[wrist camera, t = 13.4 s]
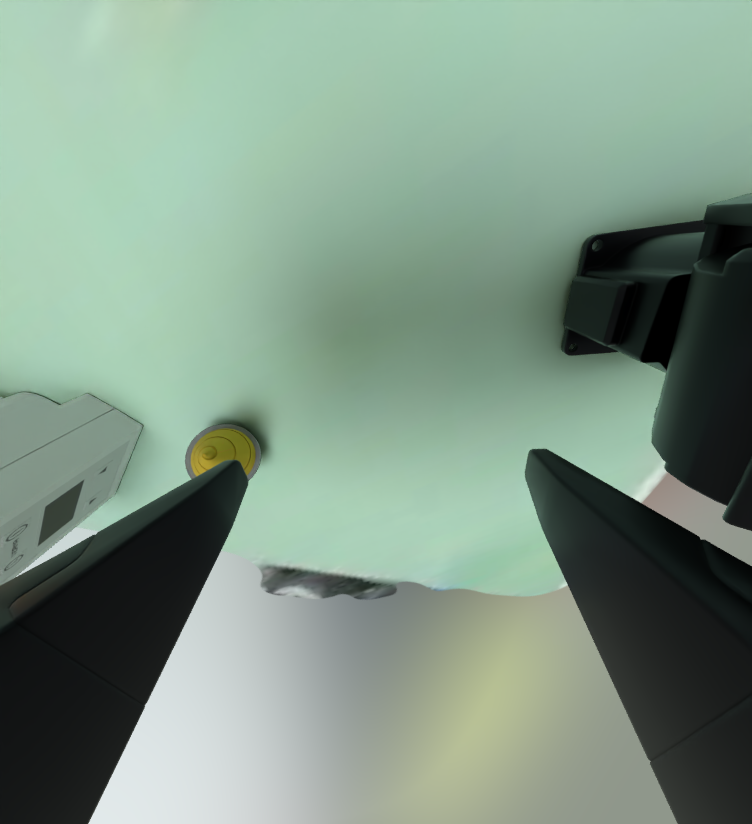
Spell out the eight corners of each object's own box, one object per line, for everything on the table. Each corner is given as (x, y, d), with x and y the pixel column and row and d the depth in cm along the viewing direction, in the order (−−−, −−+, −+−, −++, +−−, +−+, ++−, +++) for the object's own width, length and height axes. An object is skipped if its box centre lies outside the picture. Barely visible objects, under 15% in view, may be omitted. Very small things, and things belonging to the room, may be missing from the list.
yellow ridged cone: (197, 432, 25) (148, 414, 16) (261, 426, 27) (250, 407, 17) (199, 492, 24) (149, 510, 15) (265, 482, 26) (256, 493, 17)
